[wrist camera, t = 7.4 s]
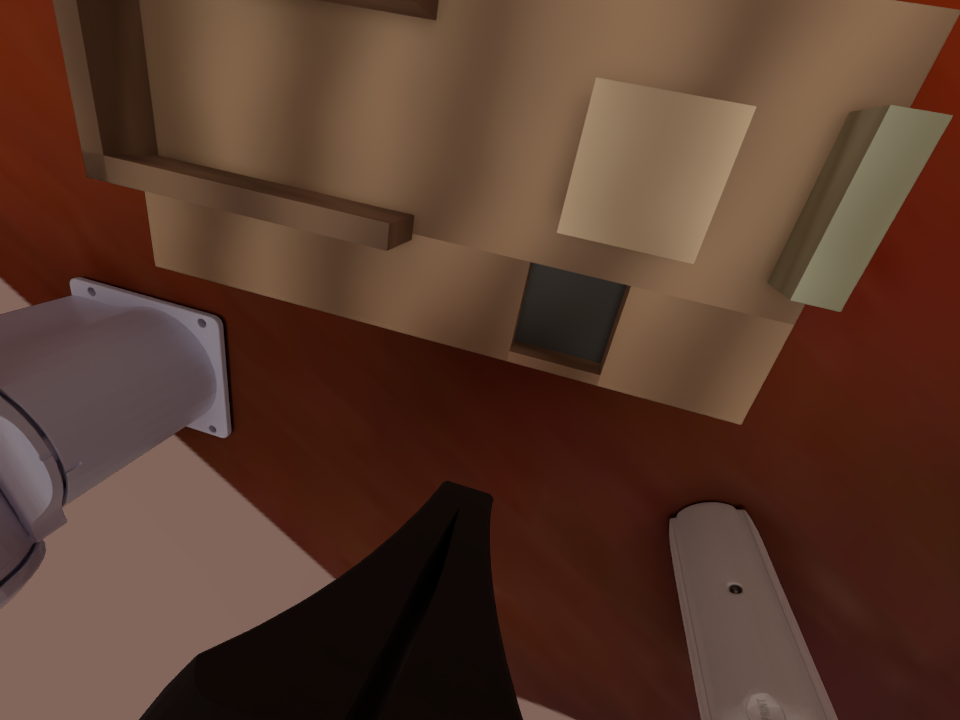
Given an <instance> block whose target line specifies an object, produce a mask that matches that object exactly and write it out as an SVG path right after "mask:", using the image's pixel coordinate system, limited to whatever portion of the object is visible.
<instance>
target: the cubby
mask: <svg viewBox="0 0 960 720" xmlns="http://www.w3.org/2000/svg"><path fill="white" fill-rule="evenodd" d="M319 1H325V2H331V3H337V4H343V5H349V6H354V7H360V8H366V9H372V10H378V11H383V12H389V13H395V14H401V15H407V16H412V17H418V18H424V19H430V20H437V11H438V2H439V0H319ZM53 4H54V9H55V15H56V20H57V25H58V30H59V35H60V40H61V45H62V51H63V56H64V61H65V66H66V71H67V76H68V81H69V87H70V92H71V97H72V102H73V107H74V112H75V118H76V123H77V128H78V133H79V138H80V143H81V148H82V154H83V159H84V164H85V169H86V174H87V177H89V178H93V179H97V180H101V181H105V182H109V183H113V184H117V185H121V186H125V187H129V188H133V189H137V190H141V191H145V192H150V193H154V194H158V195H162V196H166V197H170V198H174V199H178V200H182V201H186V202H190V203H194V204H198V205H202V206H206V207H210V208H214V209H218V210H222V211H227V212H231V213H235V214H239V215H243V216H247V217H251V218H255V219H259V220H263V221H267V222H271V223H275V224H279V225H283V226H287V227H291V228H295V229H299V230H304V231H308V232H312V233H316V234H320V235H324V236H328V237H332V238H336V239H340V240H344V241H348V242H352V243H356V244H360V245H364V246H368V247H372V248H376V249H381V250H385V251H388V250H390V249H393V248H395V247H397V246H399V245H401V244H404V243H406V242H408V241H410V240H412V234H413V225H414V216H415V215H412V214H408V213H403V212H399V211H395V210H390V209H386V208H382V207H378V206H373V205H369V204H365V203H360V202H356V201H352V200H348V199H343V198H339V197H335V196H330V195H326V194H322V193H318V192H313V191H309V190H305V189H300V188H296V187H292V186H288V185H283V184H279V183H275V182H271V181H266V180H262V179H258V178H253V177H249V176H245V175H241V174H236V173H232V172H228V171H223V170H219V169H215V168H211V167H206V166H202V165H198V164H193V163H189V162H185V161H181V160H176V159H172V158H168V157H163V156H159V155H158V148H157V140H156V132H155V124H154V116H153V108H152V100H151V92H150V84H149V76H148V68H147V60H146V52H145V44H144V36H143V28H142V20H141V12H140V4H139V0H53Z"/></svg>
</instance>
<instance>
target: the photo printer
mask: <svg viewBox="0 0 960 720" xmlns="http://www.w3.org/2000/svg"><path fill="white" fill-rule="evenodd" d="M669 538H670V548H671V554H672V561H673V567H674V573H675V579H676V585H677V590H678V596H679V602H680V607H681V612H682V618H683V623H684V629H685V634H686V640H687V645H688V651H689V656H690V661H691V667H692V672H693V678H694V684H695V689H696V694H697V700H698V705H699V711H700V716H701V720H838V719H837V716H836V714H835V711H834V709H833V707H832V704H831V702H830V700H829V697H828V695H827V693H826V690H825V688H824V686H823V683H822V681H821V679H820V676H819V674H818V672H817V669H816V667H815V665H814V662H813V660H812V657H811V655H810V653H809V650H808V648H807V646H806V643H805V641H804V638H803V636H802V634H801V631H800V629H799V627H798V624H797V622H796V620H795V617H794V615H793V612H792V610H791V608H790V605H789V603H788V601H787V598H786V596H785V594H784V591H783V589H782V587H781V584H780V582H779V579H778V577H777V575H776V572H775V570H774V568H773V565H772V563H771V560H770V558H769V556H768V553H767V551H766V548H765V546H764V544H763V541H762V539H761V537H760V535H759V532H758V531H757V529H756V527H755V525H754V523H753V521H752V520H751V518H750V516H749V515H748V514H747V512H746V511H745V510H737V509H735V508H734V507H733V506H731V505H728V504H724V503H718V502H704V503H698V504H694V505H691V506H688V507H686V508H684V509H683V510H681V511H680V512H679V513H678V514H677V516H676V518H671V519H670V523H669Z"/></svg>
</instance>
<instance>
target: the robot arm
mask: <svg viewBox="0 0 960 720" xmlns="http://www.w3.org/2000/svg"><path fill="white" fill-rule="evenodd" d="M70 288H71V293H72V296H68V297H64V298H60V299H56V300H53V301H49V302H45V303H41V304H38V305H34V306H30V307H26V308H23V309H19V310H15V311H11V312H7V313H4V314H0V609H1V608H2V607H3V606H4V605H6V604H7V603H8V602H9V601H10V600H11V599H12V598H13V597H14V596H15V595H16V594H17V593H18V592H19V591H20V590H21V589H22V588H23V587H24V585H25V584H26V583H27V582H28V580H29V579H30V578H31V577H32V576H33V574H34V573H35V572H36V570H37V569H38V568H39V566H40V564H41V562H42V561H43V559H44V556H45V552H46V548H45V542H44V541H43V539H44V538H45V537H47V536H48V535H50V534H51V533H52V532H54V531H55V530H57V529H58V528H60V527H61V526H63V525H64V524H65V523H67V519H66V517H65V515H64V513H63V510H62V507H64V506H65V505H67V504H68V503H70V502H71V501H73V500H74V499H76V498H77V497H79V496H81V495H82V494H84V493H85V492H87V491H88V490H90V489H91V488H93V487H94V486H96V485H97V484H99V483H100V482H102V481H103V480H105V479H106V478H108V477H109V476H111V475H112V474H114V473H115V472H117V471H119V470H120V469H122V468H123V467H125V466H126V465H128V464H129V463H131V462H132V461H134V460H135V459H137V458H138V457H140V456H141V455H143V454H144V453H146V452H147V451H149V450H150V449H152V448H154V447H155V446H157V445H158V444H160V443H161V442H163V441H164V440H166V439H167V438H169V437H170V436H172V435H173V434H175V433H176V432H178V431H179V430H181V429H182V428H184V427H186V426H187V427H190V428H193V429H196V430H199V431H202V432H205V433H208V434H211V435H215V436H218V437H221V438H226V437H227V436H229V435H230V434H231V419H230V406H229V394H228V381H227V369H226V356H225V344H224V331H223V323H222V321H221V319H220V318H219V317H217V316H215V315H213V314H209V313H206V312H202V311H199V310H195V309H192V308H188V307H184V306H181V305H177V304H174V303H170V302H167V301H163V300H160V299H156V298H153V297H149V296H145V295H142V294H138V293H135V292H131V291H128V290H124V289H121V288H117V287H114V286H110V285H106V284H103V283H99V282H96V281H92V280H89V279H85V278H82V277H77V278H73V279H71V280H70ZM204 321H205V322H206V324H205V323H204ZM492 503H493V497H492V496H491V494H488V493H485V492H481V491H478V490H475V489H472V488H469V487H465V486H462V485H459V484H456V483H453V482H449V481H446V482H443V483H442V484H441V486H440V487H439V488H438V489H437V491H436V492H435V493H434V494H433V495H432V497H431V498H430V499H429V500H428V501H427V502H426V503H425V504H424V505H423V506H422V507H421V508H420V509H419V511H418V512H417V513H416V514H415V515H414V516H412V517H411V518H410V519H409V520H408V521H407V522H406V523H405V524H404V525H403V526H402V527H401V528H400V529H399V530H398V531H397V532H396V533H395V534H393V535H392V536H391V537H390V538H389V539H388V540H386V541H385V542H384V543H383V544H382V545H381V546H379V547H378V548H377V549H376V550H375V551H373V552H372V553H371V554H370V555H369V556H367V557H366V558H365V559H363V560H362V561H361V562H360V563H358V564H357V565H356V566H354V567H353V568H351V569H350V570H349V571H347V572H346V573H345V574H343V575H342V576H340V577H339V578H337V579H336V580H334V581H333V582H331V583H330V584H328V585H327V586H325V587H324V588H322V589H321V590H319V591H318V592H316V593H315V594H313V595H312V596H310V597H308V598H307V599H305V600H303V601H302V602H300V603H298V604H297V605H295V606H293V607H291V608H290V609H288V610H286V611H284V612H282V613H280V614H279V615H277V616H275V617H273V618H271V619H270V620H268V621H266V622H264V623H262V624H260V625H259V626H257V627H255V628H253V629H251V630H249V631H247V632H244V633H243V634H241V635H238V636H236V637H234V638H232V639H230V640H228V641H225V642H223V643H221V644H219V645H217V646H215V647H213V648H211V649H208V650H206V651H204V652H202V653H200V654H198V655H197V656H196V657H195V658H194V659H193V660H192V661H191V662H190V663H189V664H188V665H187V666H186V667H185V668H184V669H183V670H182V671H181V672H180V673H179V674H178V675H177V676H176V677H175V678H174V679H173V680H172V681H171V682H170V683H169V684H168V685H167V686H166V687H165V688H164V690H163V691H162V692H161V693H160V695H159V696H158V697H157V698H156V699H155V701H154V702H153V703H152V704H151V705H150V707H149V708H148V709H147V710H146V712H145V713H144V714H143V715H142V717H141V718H140V719H139V720H523V718H522V715H521V712H520V709H519V705H518V702H517V698H516V694H515V690H514V687H513V683H512V679H511V676H510V672H509V668H508V665H507V661H506V656H505V652H504V647H503V643H502V638H501V633H500V628H499V623H498V617H497V611H496V605H495V598H494V590H493V582H492V572H491V558H490V515H491V508H492Z"/></svg>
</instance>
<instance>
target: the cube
mask: <svg viewBox="0 0 960 720" xmlns="http://www.w3.org/2000/svg"><path fill="white" fill-rule="evenodd" d="M756 107H757V106H751V105H746V104H740V103H735V102H729V101H724V100H718V99H713V98H707V97H702V96H696V95H691V94H685V93H680V92H674V91H668V90H663V89H657V88H652V87H646V86H641V85H635V84H630V83H624V82H619V81H613V80H608V79H602V78H597V77H596V80H595V84H594V88H593V92H592V96H591V99H590V103H589V107H588V111H587V115H586V119H585V123H584V127H583V131H582V135H581V139H580V143H579V147H578V151H577V155H576V159H575V163H574V167H573V170H572V174H571V178H570V182H569V186H568V190H567V194H566V198H565V202H564V206H563V210H562V214H561V218H560V222H559V226H558V230H557V233H560V234H564V235H569V236H573V237H577V238H582V239H586V240H591V241H595V242H599V243H604V244H608V245H612V246H617V247H621V248H625V249H630V250H634V251H638V252H643V253H647V254H652V255H656V256H660V257H665V258H669V259H673V260H678V261H682V262H686V263H691V264H694V262H695V260H696V257H697V255H698V252H699V250H700V247H701V245H702V242H703V240H704V237H705V235H706V232H707V230H708V227H709V225H710V222H711V220H712V217H713V215H714V212H715V210H716V207H717V205H718V202H719V200H720V197H721V195H722V192H723V190H724V187H725V185H726V182H727V180H728V177H729V175H730V172H731V170H732V167H733V165H734V162H735V160H736V157H737V155H738V152H739V150H740V147H741V145H742V142H743V139H744V137H745V134H746V132H747V129H748V127H749V124H750V122H751V119H752V117H753V114H754V112H755V109H756Z"/></svg>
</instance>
